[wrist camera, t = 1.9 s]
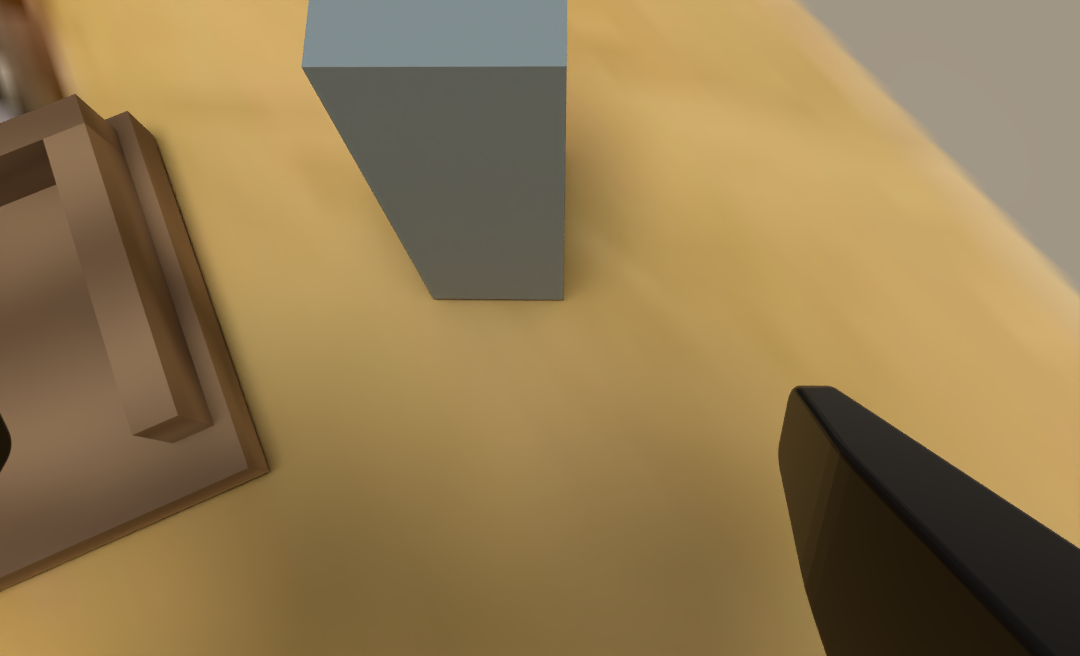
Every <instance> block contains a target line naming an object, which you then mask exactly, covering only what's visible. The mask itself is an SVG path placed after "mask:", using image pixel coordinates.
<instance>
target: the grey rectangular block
mask: <svg viewBox="0 0 1080 656" xmlns="http://www.w3.org/2000/svg"><path fill="white" fill-rule="evenodd" d="M302 69H303V70H304V72H305V74H306V76H307V77H308V79H309V81H310V83H311V84H312V86H313V88H314V90H315V91H316V93H317V95H318V97H319V98H320V100H321V102H322V104H323V106H324V107H325V109H326V111H327V113H328V114H329V116H330V118H331V120H332V121H333V123H334V125H335V127H336V128H337V130H338V132H339V134H340V135H341V137H342V139H343V141H344V142H345V144H346V146H347V148H348V149H349V151H350V153H351V155H352V156H353V158H354V160H355V162H356V164H357V165H358V167H359V169H360V171H361V172H362V174H363V176H364V178H365V179H366V181H367V183H368V185H369V186H370V188H371V190H372V192H373V193H374V195H375V197H376V199H377V200H378V202H379V204H380V206H381V207H382V209H383V211H384V213H385V214H386V216H387V218H388V220H389V222H390V223H391V225H392V227H393V229H394V230H395V232H396V234H397V236H398V237H399V239H400V241H401V243H402V244H403V246H404V248H405V250H406V251H407V253H408V255H409V257H410V258H411V260H412V262H413V264H414V265H415V267H416V269H417V271H418V272H419V274H420V276H421V278H422V280H423V281H424V283H425V285H426V287H427V288H428V290H429V292H430V294H431V295H432V297H433V299H530V300H563V286H564V214H565V142H566V71H567V0H309V5H308V14H307V23H306V32H305V41H304V50H303V59H302Z"/></svg>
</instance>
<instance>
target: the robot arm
mask: <svg viewBox="0 0 1080 656" xmlns="http://www.w3.org/2000/svg"><path fill="white" fill-rule="evenodd" d="M11 446H12V440H11V435H10V432H9V430H8V428H7V426H6V424H5V422H4V419H3V417H2V415H1V413H0V473H1V471H2V469H3V467H4V465H5V463H6V462H7V460H8V458H9V455H10V452H11ZM778 457H779V467H780V472H781V477H782V482H783V487H784V491H785V496H786V501H787V506H788V511H789V516H790V521H791V525H792V530H793V535H794V540H795V545H796V550H797V555H798V559H799V564H800V569H801V574H802V578H803V582H804V587H805V591H806V594H807V597H808V601H809V604H810V607H811V610H812V614H813V617H814V620H815V623H816V626H817V629H818V632H819V635H820V638H821V640H822V643H823V646H824V649H825V652H826V655H827V656H1080V549H1079V548H1078V547H1076V546H1075V545H1073V544H1072V543H1070V542H1069V541H1067V540H1066V539H1064V538H1063V537H1061V536H1060V535H1058V534H1057V533H1055V532H1054V531H1052V530H1050V529H1049V528H1047V527H1046V526H1044V525H1043V524H1041V523H1040V522H1038V521H1037V520H1035V519H1034V518H1032V517H1031V516H1029V515H1028V514H1026V513H1025V512H1023V511H1022V510H1020V509H1019V508H1017V507H1015V506H1014V505H1012V504H1011V503H1009V502H1008V501H1006V500H1005V499H1003V498H1002V497H1000V496H999V495H997V494H996V493H994V492H993V491H991V490H990V489H988V488H987V487H985V486H984V485H982V484H980V483H979V482H977V481H976V480H974V479H973V478H971V477H970V476H968V475H967V474H965V473H964V472H962V471H961V470H959V469H958V468H956V467H955V466H953V465H952V464H950V463H949V462H947V461H945V460H944V459H942V458H941V457H939V456H938V455H936V454H935V453H933V452H932V451H930V450H929V449H927V448H926V447H924V446H923V445H921V444H920V443H918V442H917V441H915V440H914V439H912V438H910V437H909V436H907V435H906V434H904V433H903V432H901V431H900V430H898V429H897V428H895V427H894V426H892V425H891V424H889V423H888V422H886V421H885V420H883V419H882V418H880V417H879V416H877V415H875V414H874V413H872V412H871V411H869V410H868V409H866V408H865V407H863V406H862V405H860V404H859V403H857V402H856V401H854V400H853V399H851V398H850V397H848V396H847V395H845V394H844V393H842V392H840V391H839V390H837V389H836V388H834V387H831V386H796V387H795V388H793V389H792V391H791V393H790V395H789V398H788V402H787V407H786V412H785V417H784V422H783V427H782V432H781V437H780V442H779V451H778Z"/></svg>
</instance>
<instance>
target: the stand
mask: <svg viewBox="0 0 1080 656" xmlns="http://www.w3.org/2000/svg"><path fill="white" fill-rule="evenodd" d="M0 413H1V415H2V417H3V419H4V422H5V424H6V426H7V428H8V430H9V432H10V435H11V440H12V446H11V452H10V455H9V458H8V460H7V462H6V463H5V465H4V467H3V469H2V471H1V473H0V591H1V590H3V589H6V588H8V587H10V586H12V585H15V584H17V583H19V582H22V581H24V580H26V579H28V578H31V577H33V576H35V575H37V574H40V573H42V572H44V571H46V570H49V569H51V568H53V567H55V566H58V565H60V564H62V563H64V562H67V561H69V560H71V559H73V558H76V557H78V556H80V555H82V554H85V553H87V552H89V551H91V550H94V549H96V548H98V547H100V546H103V545H105V544H107V543H109V542H112V541H114V540H116V539H119V538H121V537H123V536H125V535H128V534H130V533H132V532H134V531H137V530H139V529H141V528H143V527H146V526H148V525H150V524H152V523H155V522H157V521H159V520H161V519H164V518H166V517H168V516H170V515H173V514H175V513H177V512H179V511H182V510H184V509H186V508H188V507H191V506H193V505H195V504H197V503H200V502H202V501H204V500H206V499H209V498H211V497H213V496H216V495H218V494H220V493H222V492H225V491H227V490H229V489H231V488H234V487H236V486H238V485H240V484H243V483H245V482H247V481H249V480H252V479H254V478H256V477H258V476H261V475H263V474H265V473H267V472H269V469H268V467H267V464H266V461H265V458H264V455H263V452H262V449H261V446H260V443H259V440H258V438H257V435H256V432H255V429H254V426H253V423H252V420H251V417H250V414H249V412H248V409H247V406H246V403H245V400H244V397H243V394H242V391H241V388H240V385H239V383H238V380H237V377H236V374H235V371H234V368H233V365H232V362H231V359H230V357H229V354H228V351H227V348H226V345H225V342H224V339H223V336H222V333H221V331H220V328H219V325H218V322H217V319H216V316H215V313H214V310H213V307H212V304H211V302H210V299H209V296H208V293H207V290H206V287H205V284H204V281H203V278H202V276H201V273H200V270H199V267H198V264H197V261H196V258H195V255H194V252H193V249H192V247H191V244H190V241H189V238H188V235H187V232H186V229H185V226H184V223H183V221H182V218H181V215H180V212H179V209H178V206H177V203H176V200H175V197H174V194H173V192H172V189H171V186H170V183H169V180H168V177H167V174H166V171H165V168H164V166H163V163H162V160H161V157H160V154H159V151H158V148H157V145H156V142H155V140H154V137H153V135H152V134H151V133H150V132H149V131H148V130H147V129H146V128H145V127H144V126H143V125H142V124H141V123H139V122H138V121H137V120H136V119H135V118H134V117H133V116H132V115H131V114H130V113H129V112H128V111H126V112H124V113H121V114H118V115H116V116H113V117H111V118H108V119H106V120H104V119H103V118H102V117H101V116H100V115H98V114H97V113H96V112H95V111H94V110H93V109H92V108H90V107H89V106H88V105H87V104H86V103H85V102H84V101H83V100H81V99H80V98H79V97H78V96H77V95H76V94H74V95H71V96H69V97H66V98H64V99H61V100H59V101H56V102H53V103H51V104H48V105H46V106H43V107H41V108H38V109H36V110H33V111H30V112H28V113H25V114H23V115H20V116H18V117H15V118H13V119H10V120H7V121H5V122H2V123H0Z"/></svg>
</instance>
